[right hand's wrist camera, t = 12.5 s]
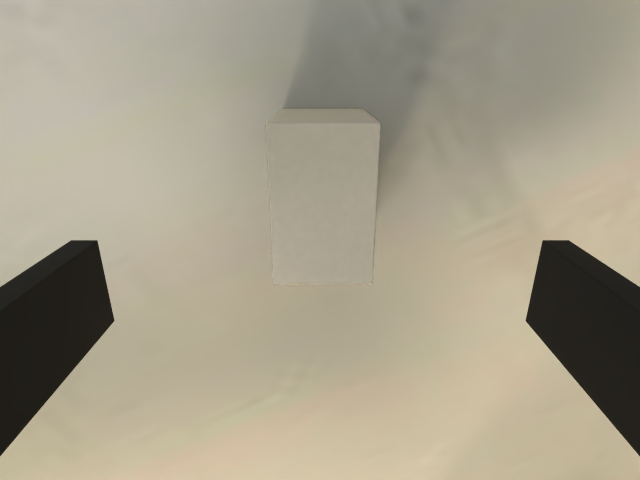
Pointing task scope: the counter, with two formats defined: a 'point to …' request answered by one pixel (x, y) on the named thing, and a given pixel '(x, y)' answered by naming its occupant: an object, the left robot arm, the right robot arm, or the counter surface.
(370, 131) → the block
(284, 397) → the counter surface
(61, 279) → the right robot arm
